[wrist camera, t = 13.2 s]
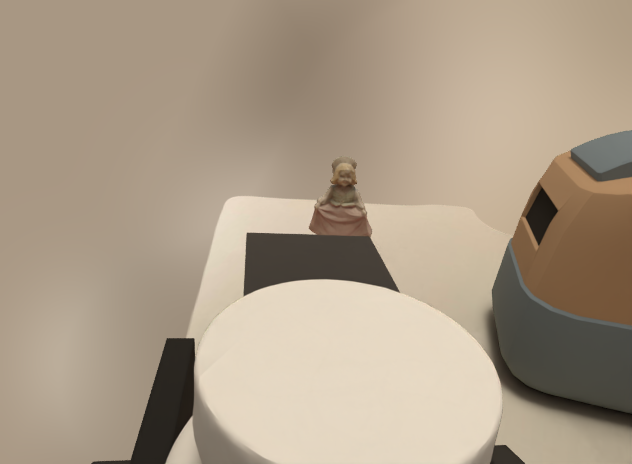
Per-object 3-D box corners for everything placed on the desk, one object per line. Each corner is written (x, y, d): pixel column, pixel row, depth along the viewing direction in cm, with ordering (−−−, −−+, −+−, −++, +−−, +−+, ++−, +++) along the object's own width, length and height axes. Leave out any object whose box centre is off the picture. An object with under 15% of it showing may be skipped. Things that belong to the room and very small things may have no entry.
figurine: (300, 276, 55) (300, 154, 54) (285, 263, 65) (285, 159, 64) (381, 272, 58) (384, 156, 57) (355, 260, 68) (357, 160, 66)
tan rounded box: (481, 301, 55) (535, 108, 46) (632, 332, 51) (723, 130, 42) (494, 396, 40) (578, 138, 31) (708, 449, 37) (875, 176, 27)
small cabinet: (394, 414, 37) (414, 317, 33) (240, 419, 35) (242, 317, 31) (358, 313, 50) (369, 235, 46) (244, 313, 48) (246, 232, 45)
